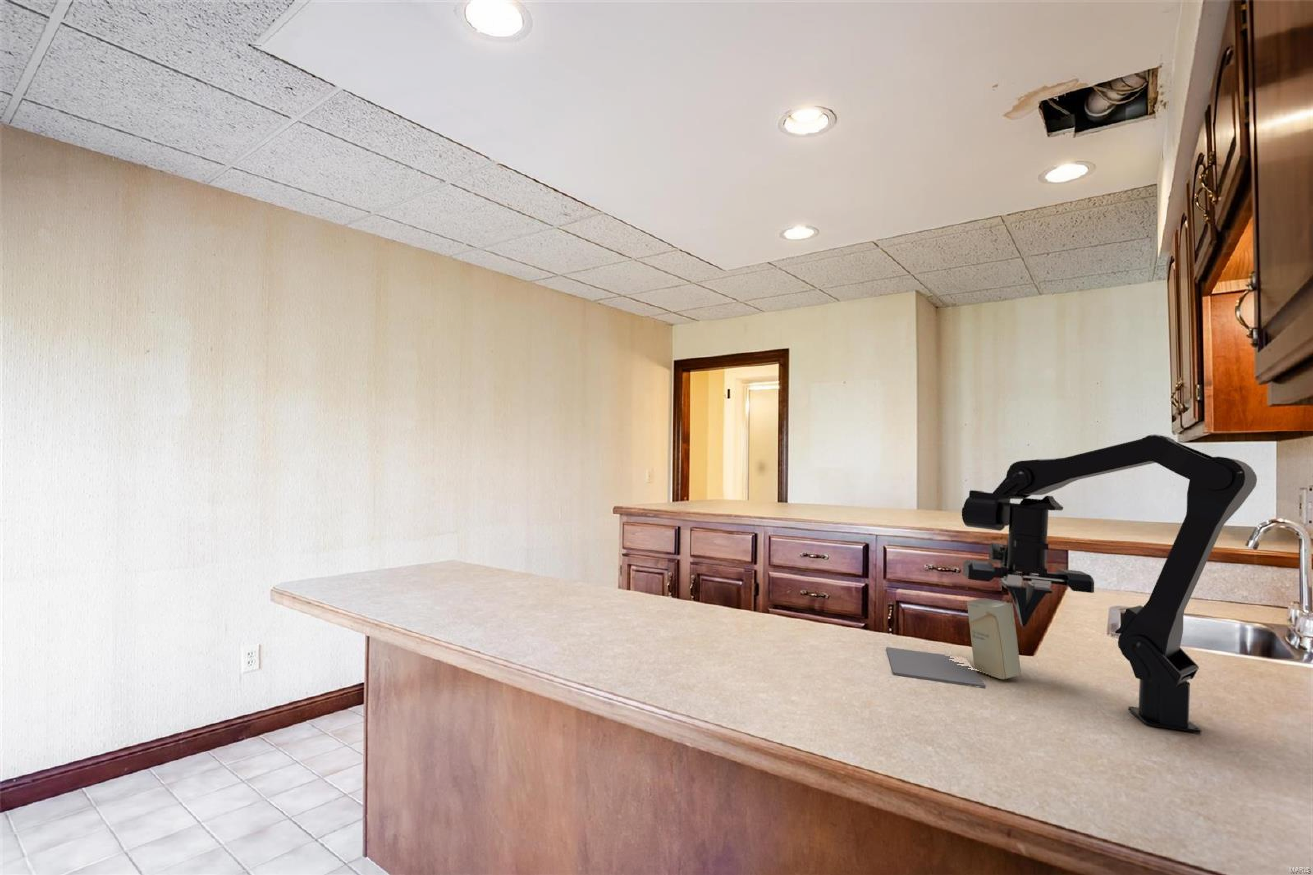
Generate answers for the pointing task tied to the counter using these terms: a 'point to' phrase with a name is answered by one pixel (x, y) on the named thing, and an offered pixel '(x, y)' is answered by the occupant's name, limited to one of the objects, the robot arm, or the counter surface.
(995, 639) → the skincare box
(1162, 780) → the counter surface
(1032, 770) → the counter surface
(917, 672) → the mat
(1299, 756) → the counter surface
